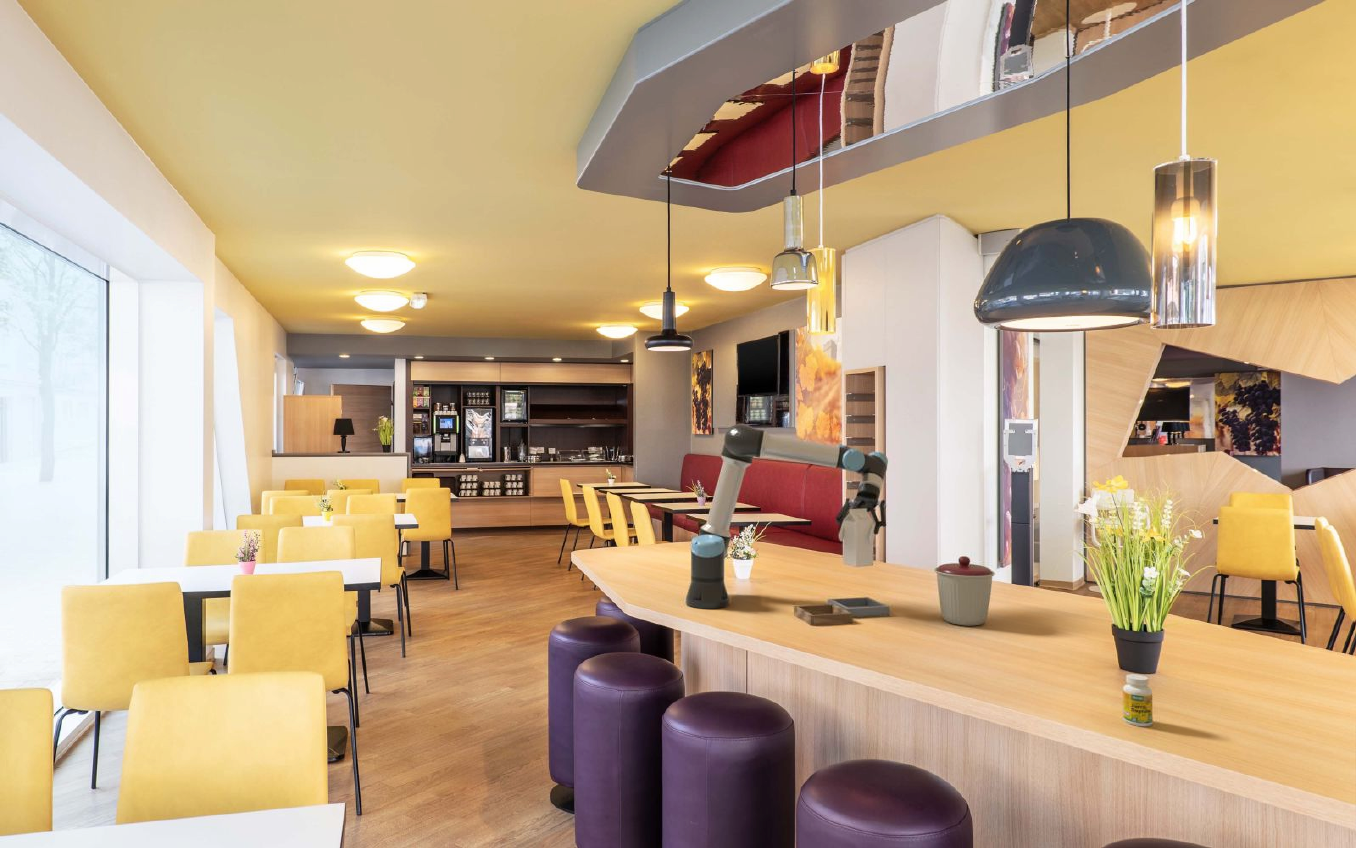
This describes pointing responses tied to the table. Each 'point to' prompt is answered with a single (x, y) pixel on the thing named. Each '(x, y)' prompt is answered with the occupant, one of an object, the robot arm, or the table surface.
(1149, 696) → the supplement bottle
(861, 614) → the tray
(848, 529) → the milk carton
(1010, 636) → the table surface
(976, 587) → the canister
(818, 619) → the holder frame
